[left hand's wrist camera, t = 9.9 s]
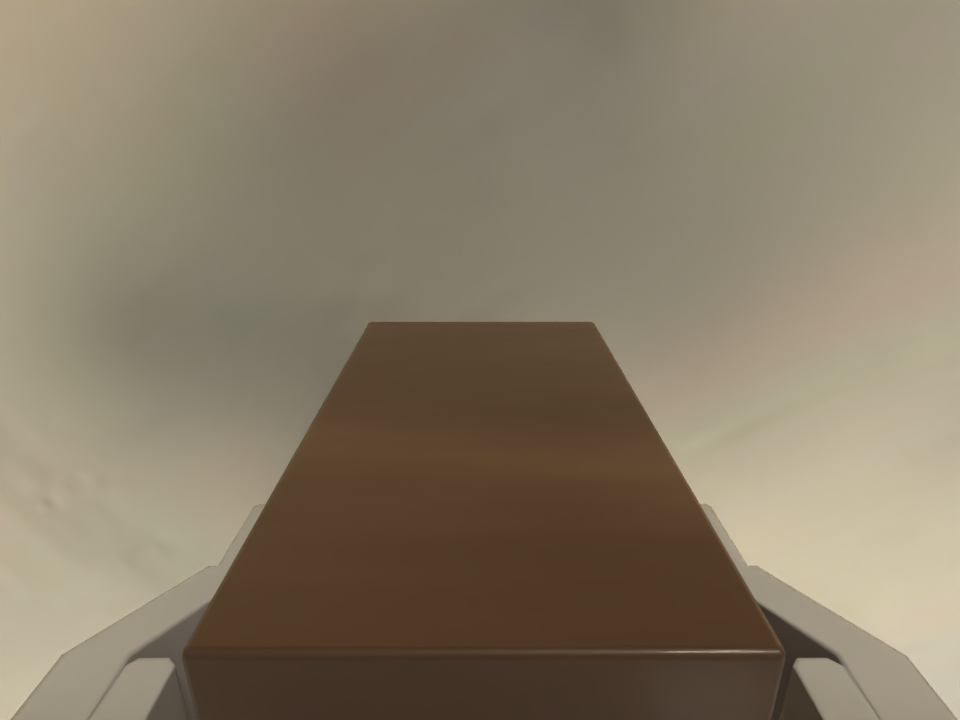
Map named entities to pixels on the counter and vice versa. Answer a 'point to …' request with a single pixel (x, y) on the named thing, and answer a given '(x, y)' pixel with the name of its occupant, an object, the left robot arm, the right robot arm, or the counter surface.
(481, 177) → the counter surface
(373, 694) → the bar
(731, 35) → the counter surface
